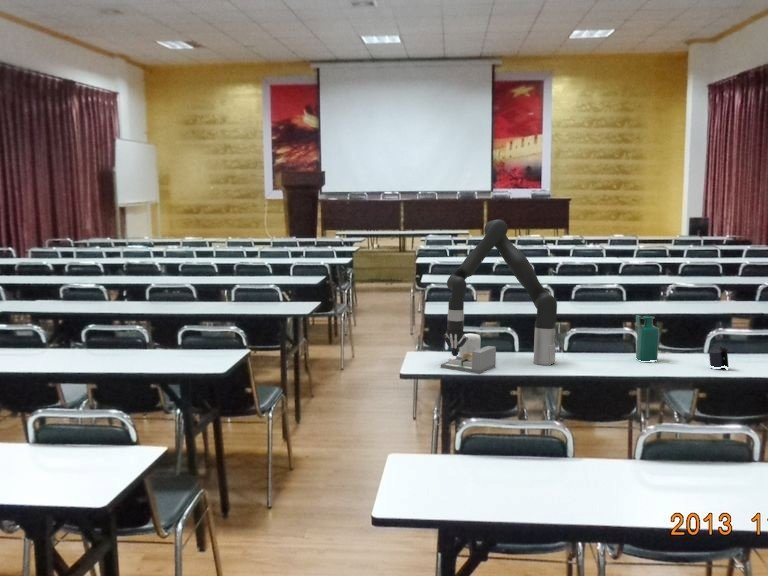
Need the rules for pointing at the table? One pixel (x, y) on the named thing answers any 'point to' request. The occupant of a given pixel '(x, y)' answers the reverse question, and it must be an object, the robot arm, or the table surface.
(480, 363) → the base
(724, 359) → the speaker
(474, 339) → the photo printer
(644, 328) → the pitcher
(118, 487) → the table surface
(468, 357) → the gauge carriage
